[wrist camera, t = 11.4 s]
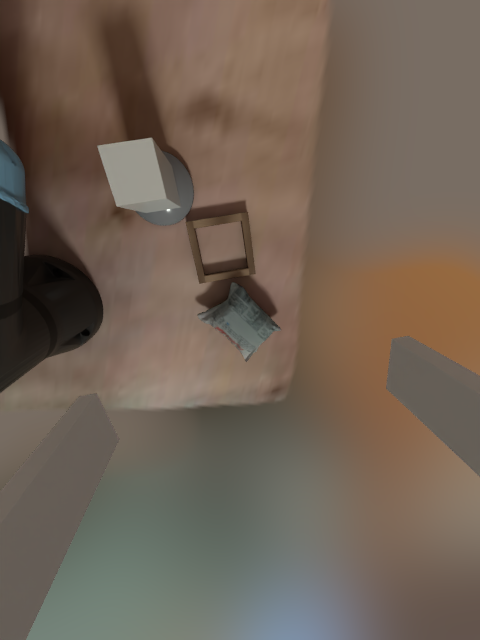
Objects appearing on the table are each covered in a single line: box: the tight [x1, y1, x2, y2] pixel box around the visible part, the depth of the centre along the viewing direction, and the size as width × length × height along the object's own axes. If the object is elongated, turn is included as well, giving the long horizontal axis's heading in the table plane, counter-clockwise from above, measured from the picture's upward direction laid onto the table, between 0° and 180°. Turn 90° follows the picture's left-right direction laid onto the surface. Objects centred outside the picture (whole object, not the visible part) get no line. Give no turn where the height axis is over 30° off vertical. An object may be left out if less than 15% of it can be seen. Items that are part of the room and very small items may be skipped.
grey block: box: [97, 138, 181, 213], centre depth 26 cm, size 5×5×10 cm
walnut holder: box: [186, 212, 256, 284], centre depth 35 cm, size 9×9×1 cm
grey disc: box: [136, 151, 194, 225], centre depth 31 cm, size 9×9×1 cm
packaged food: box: [198, 282, 281, 362], centre depth 38 cm, size 9×12×5 cm
